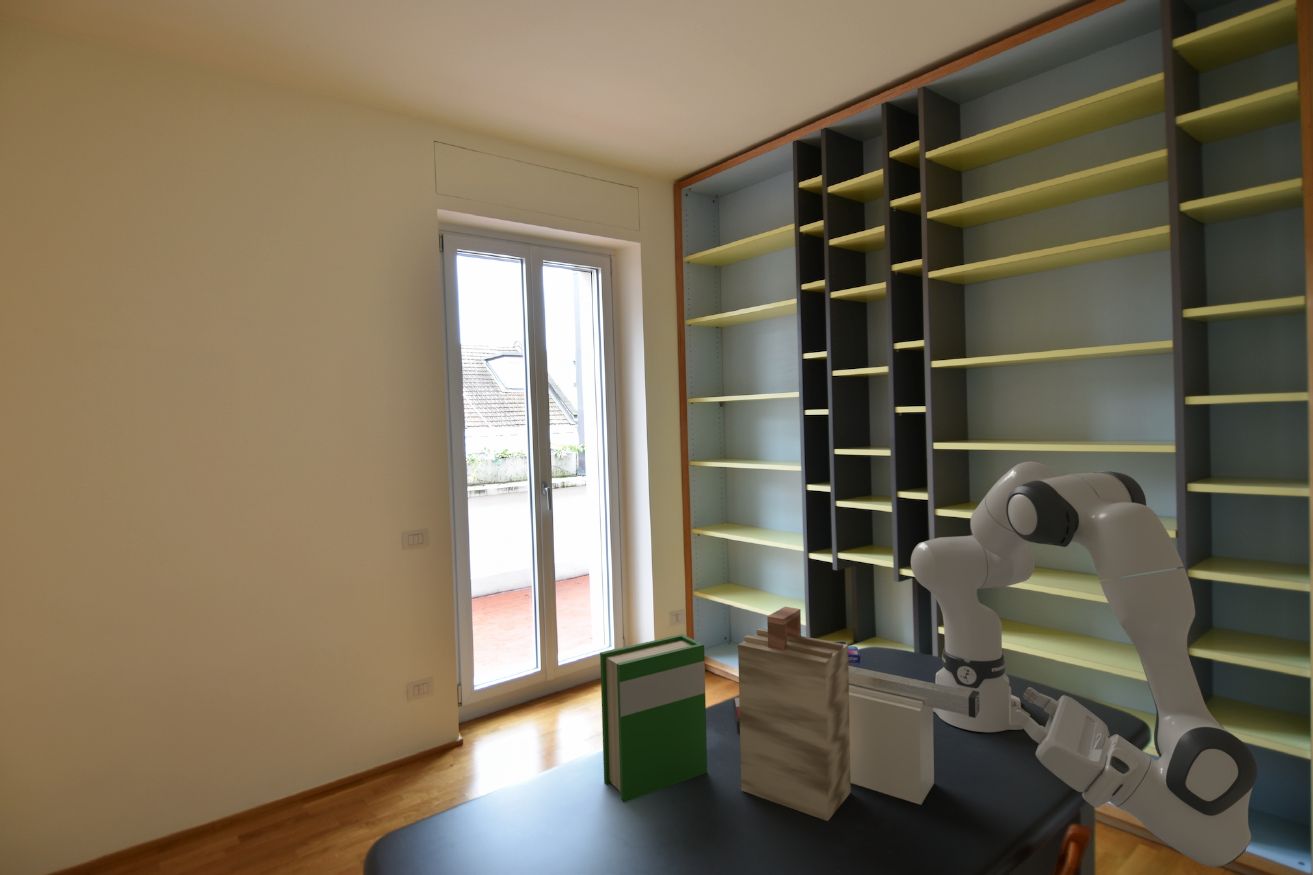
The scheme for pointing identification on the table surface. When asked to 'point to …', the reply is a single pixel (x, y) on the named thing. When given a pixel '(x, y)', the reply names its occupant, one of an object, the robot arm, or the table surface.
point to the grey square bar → (918, 691)
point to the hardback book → (653, 715)
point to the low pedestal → (891, 744)
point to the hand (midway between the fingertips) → (1020, 701)
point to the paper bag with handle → (794, 717)
